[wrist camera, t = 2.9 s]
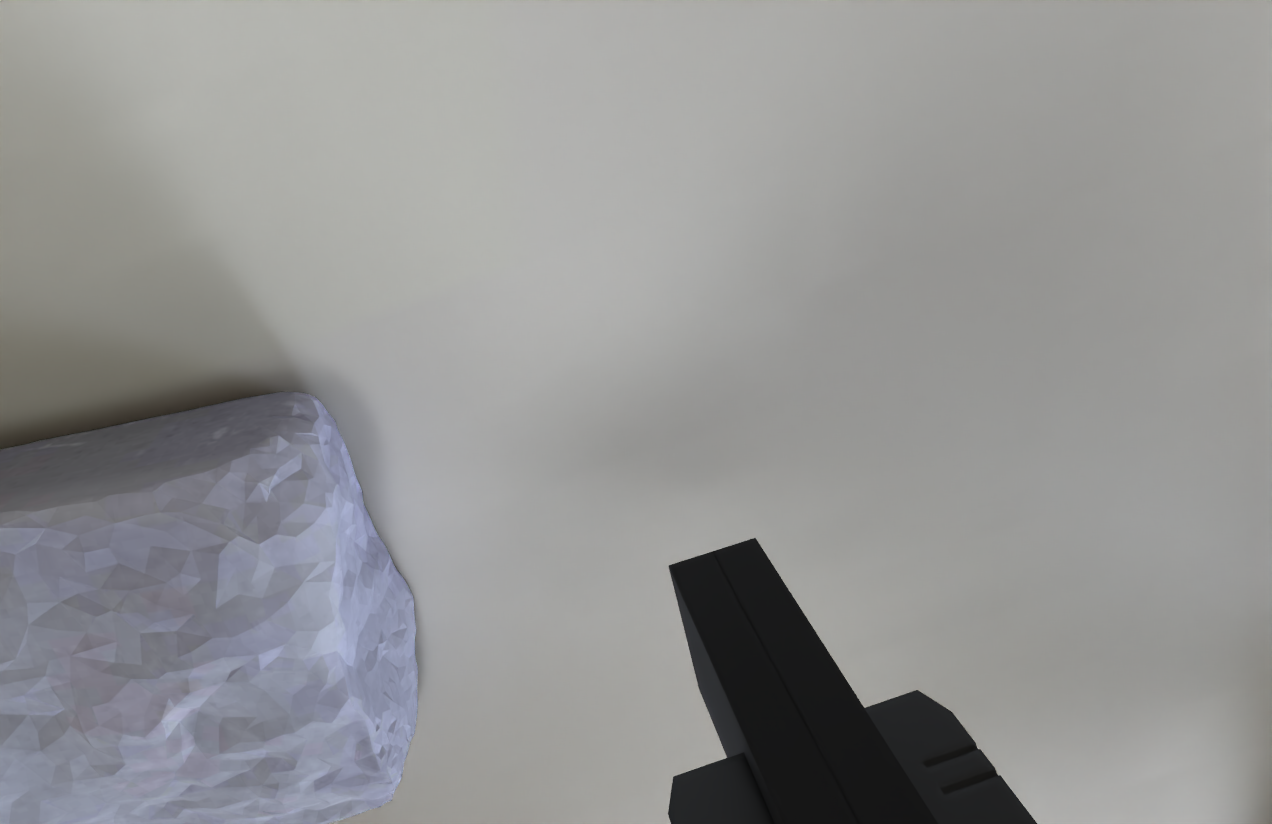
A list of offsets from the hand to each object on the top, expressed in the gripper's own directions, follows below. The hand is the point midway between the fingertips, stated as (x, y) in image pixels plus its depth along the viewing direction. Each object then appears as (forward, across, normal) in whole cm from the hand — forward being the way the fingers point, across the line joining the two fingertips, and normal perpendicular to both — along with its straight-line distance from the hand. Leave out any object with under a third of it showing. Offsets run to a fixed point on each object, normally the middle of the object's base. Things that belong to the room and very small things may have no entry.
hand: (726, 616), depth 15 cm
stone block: (+6, +12, 0) cm, 13 cm away
